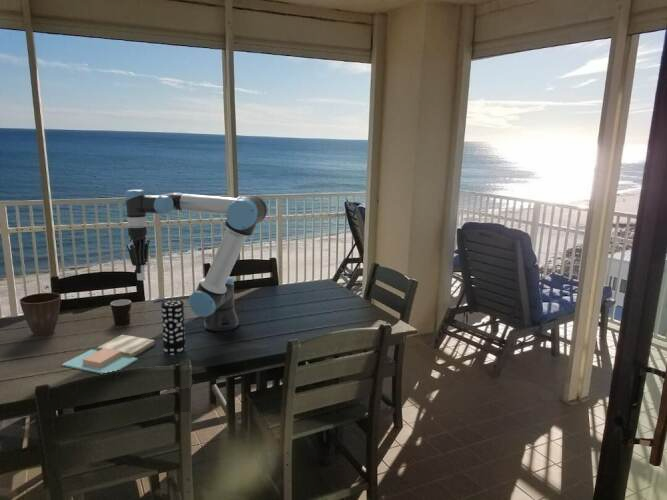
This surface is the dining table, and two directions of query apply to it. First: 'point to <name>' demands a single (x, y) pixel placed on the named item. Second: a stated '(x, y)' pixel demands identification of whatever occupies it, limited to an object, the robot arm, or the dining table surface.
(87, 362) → the terracotta tile
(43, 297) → the plant pot
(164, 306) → the white-spotted black cylinder
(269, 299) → the dining table surface
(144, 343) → the board
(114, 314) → the coffee mug
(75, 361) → the teal mat
